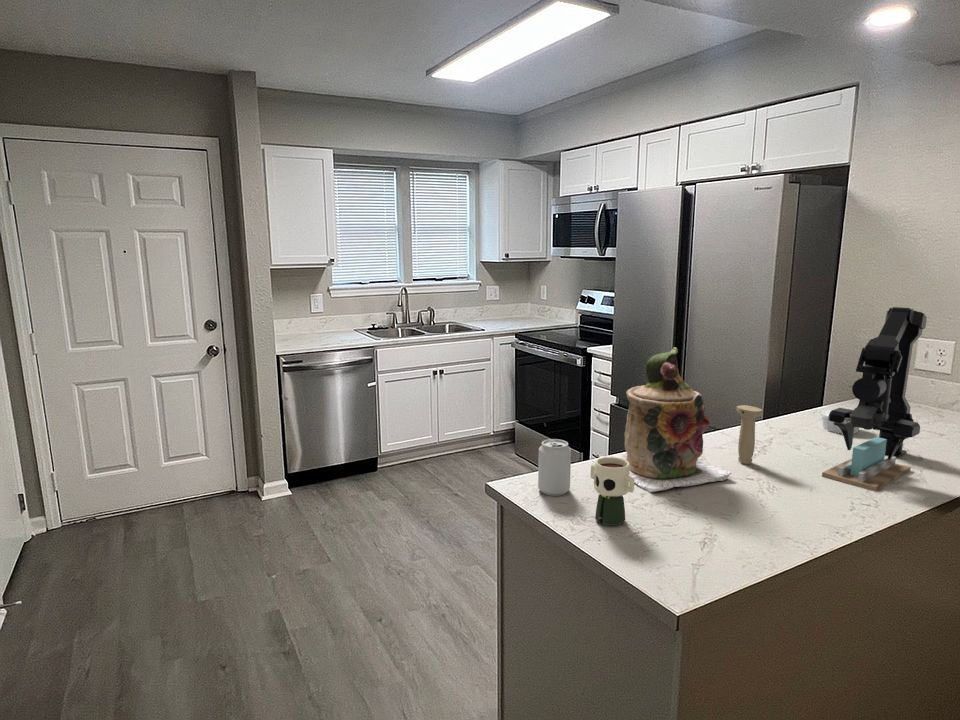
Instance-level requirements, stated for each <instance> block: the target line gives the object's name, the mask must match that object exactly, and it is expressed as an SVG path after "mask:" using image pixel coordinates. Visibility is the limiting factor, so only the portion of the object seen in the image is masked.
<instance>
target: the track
mask: <svg viewBox="0 0 960 720" xmlns="http://www.w3.org/2000/svg"><path fill="white" fill-rule="evenodd" d="M896 460H897V457H896V456H893V457H892V459H891V460H888V457H887V458H884V460H883V461H881V462H879V463H877V464H875V465H873V466H871V467H869V468H867V469H865V470H863V471H862V472H860V473H859V475H858V476H854V475H850V472H851V463H852V458H850V459H848V460H845V461H844V462H842V463H839V464H838V465H835V466H833V467H830V468H828V469H827V470H824V471H822V474H821V477H823V478H827V479H830V480H834V481H838V482H842V483H845V484H848V485H852V486H856V487H859V488H863V489H867V490H870V491H874V492H876V491H877V490H879V489H881V488H883V487H885V486H886V485H888V484H890V483H892V482H893V481H895V480H897V479H899V478H900V477H902V476H904V475H906V474H907V473H909V472H911V468H912V467H911V466H908V465H903V464H901V463H900V464H899V463H896Z"/></svg>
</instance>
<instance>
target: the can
mask: <svg viewBox="0 0 960 720" xmlns="http://www.w3.org/2000/svg"><path fill="white" fill-rule="evenodd" d="M571 461H572V449H571V447H570V446H569V442H568V441H566V440H563V439H558V438H551V439H545V440H543V441H542V442H541V446H539V447H538V469H537V470H538V471H537V472H538V474H537V479H538V480H537V486H538V489H539V490H540V491H541V493H542V494H545V495H546V496H552V497H558V496H563V495H565V494H567V493H568V492H569V491H570V489H571V467H572V466H571V465H572V464H571V463H572V462H571Z"/></svg>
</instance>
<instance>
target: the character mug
mask: <svg viewBox="0 0 960 720" xmlns="http://www.w3.org/2000/svg"><path fill="white" fill-rule="evenodd" d="M629 471H630V463H629V462H628V461H627V460H625V459H622V458H617V457H602V458H599V457H598V458H596V459H595V462H594V463H593V464H591V465H590V478H591V479H592V480H593V488H594V490H595V491H596V493H597V494H598V497H597V502H596V508H595V520H596V522H598V523H599V522H600V521H601V520H600V519H602V524H603V525H608V526H618V525H621V524H622V523H623V522H625V521H626V511H625V510H626V509H625V498H624V495H627V494H628V493H634V491H635V483H634V478H633V477H631V476H629Z"/></svg>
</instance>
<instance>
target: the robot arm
mask: <svg viewBox="0 0 960 720" xmlns="http://www.w3.org/2000/svg"><path fill="white" fill-rule="evenodd" d="M926 326H927V316H926V314H925V313H923V312H922V311H917V310H914V308H910V307H904V306H903V307H901V306H900V307H899V306H893V307H890V308H888V310H886V315H885V320H884V324H883V326H882V328H881V330H880V331H879V334H878V335H877V337H873V338H871V339H869V340H868V341H867V343H866V345H865V346H864V347H862V349H861V351H860V355H859V359H858V363H857V365H856V369H855V372H857V373H862V376H861V377H860V378H858V379H856V381H854V383H853V384H852V387H851V389H852V394H853V396H854V397H855V398H856V399H857V400H858V403H857V404H858V405H857V406H856V407H855V408H854V409H849V408H846V407H845V408H843V407H838V408H834V409H831V410H832V411H830V413H829V418H828V420H829V421H832V422H834V425H837V426H838V427H839V428H840V429H841V431H842V433H843V434H842V436H843V439H844V442H845V446H846V448H847V451H851V450H852V448H853V447H852V446H853V440H854V434H855V433H854V427H859V429H864V430H867V431H869V430H874V431H879V432H878V433H879V434H878V437H879V438H883V439H887V442H886V450H885V455H887V458H888V460H891V459H892V457H893V456H894V457H896V458H898V457H901V456H903V455H905V454H907V453H908V451H907V450H904V449H903V447H904V441H906V440H907V439H909V438H913V437H914V438H915V436H918V435H920V432H921V425H920V424H919V422H917V421H914V419H913V414H912V413H911V406H910V404H909V402H908V400H907V398H906V392H907V385H908V379H909V371H910V368H911V367H910V365H911V359H912V353H913V348H914V347H913V345H914V343H915V342H917V340H918V339H920V338H921V336H922V334H923V330H925V328H926ZM853 433H854V434H853Z"/></svg>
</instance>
